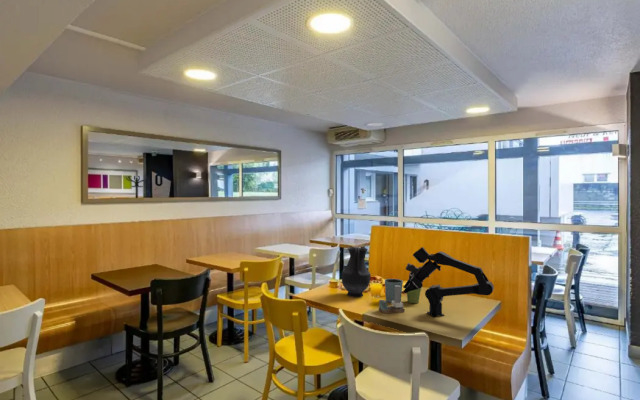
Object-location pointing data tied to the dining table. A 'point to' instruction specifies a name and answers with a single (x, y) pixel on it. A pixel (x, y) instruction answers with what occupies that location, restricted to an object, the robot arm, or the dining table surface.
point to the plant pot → (413, 296)
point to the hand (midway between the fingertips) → (403, 289)
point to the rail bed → (389, 308)
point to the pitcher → (356, 273)
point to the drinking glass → (392, 289)
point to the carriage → (397, 297)
